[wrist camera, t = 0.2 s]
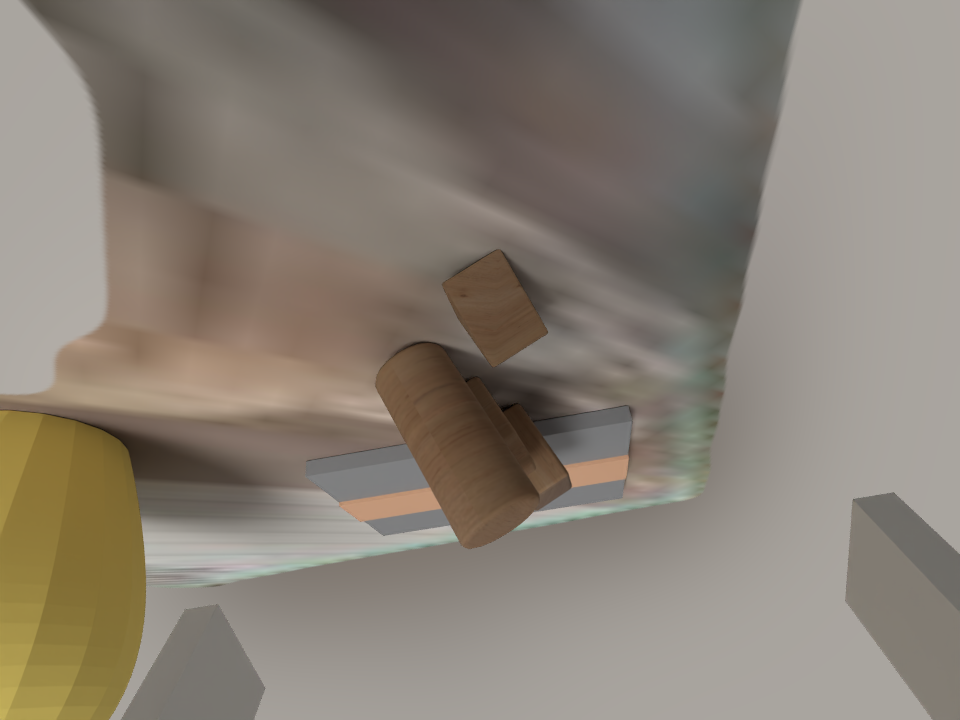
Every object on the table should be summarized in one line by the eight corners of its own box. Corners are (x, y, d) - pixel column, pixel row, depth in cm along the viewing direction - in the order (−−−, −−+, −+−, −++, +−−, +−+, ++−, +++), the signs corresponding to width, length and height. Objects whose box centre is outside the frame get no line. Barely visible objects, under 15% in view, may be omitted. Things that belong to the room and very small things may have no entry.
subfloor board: (306, 461, 42) (305, 480, 41) (628, 405, 40) (633, 424, 39) (383, 523, 57) (383, 538, 57) (619, 486, 55) (623, 501, 54)
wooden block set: (533, 387, 41) (619, 504, 36) (433, 452, 41) (507, 580, 36) (480, 224, 26) (617, 387, 21) (317, 323, 25) (417, 517, 20)
